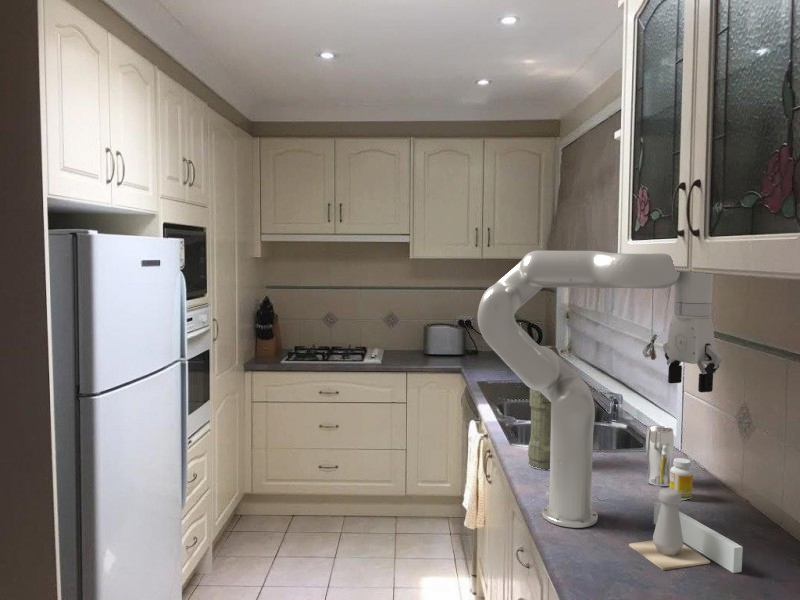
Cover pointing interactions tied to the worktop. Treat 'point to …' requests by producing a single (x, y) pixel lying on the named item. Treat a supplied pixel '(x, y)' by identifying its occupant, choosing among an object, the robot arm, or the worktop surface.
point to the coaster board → (669, 562)
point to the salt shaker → (668, 524)
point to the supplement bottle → (681, 477)
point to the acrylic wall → (708, 542)
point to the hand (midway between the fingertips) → (689, 387)
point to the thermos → (540, 427)
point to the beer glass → (659, 454)
